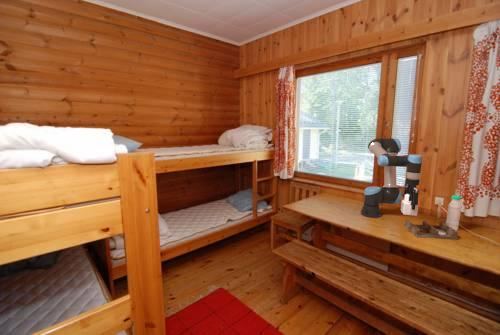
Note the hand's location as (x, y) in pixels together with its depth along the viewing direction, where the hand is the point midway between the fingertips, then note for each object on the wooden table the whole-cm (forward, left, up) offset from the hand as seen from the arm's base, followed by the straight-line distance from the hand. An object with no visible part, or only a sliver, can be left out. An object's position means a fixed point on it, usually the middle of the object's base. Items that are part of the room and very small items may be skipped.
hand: (408, 211), depth 160 cm
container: (0, 0, -2) cm, 2 cm away
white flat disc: (-4, +22, -16) cm, 28 cm away
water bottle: (-13, +36, -17) cm, 42 cm away
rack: (-4, +17, -17) cm, 24 cm away
